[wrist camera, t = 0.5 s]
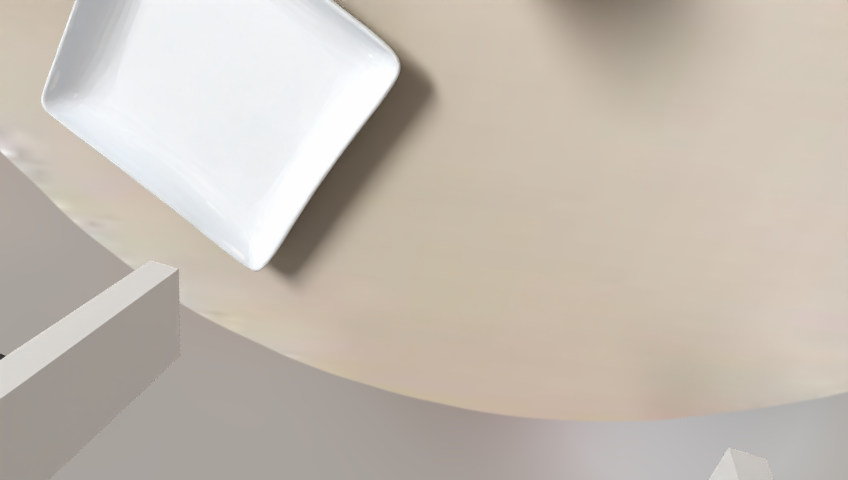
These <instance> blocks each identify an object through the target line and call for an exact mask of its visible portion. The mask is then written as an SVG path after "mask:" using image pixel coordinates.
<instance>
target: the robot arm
mask: <svg viewBox="0 0 848 480" xmlns="http://www.w3.org/2000/svg"><path fill="white" fill-rule="evenodd" d="M179 312H180V311H179V269H177V268H174V267H171V266H168V265H165V264H162V263H159V262H156V261H153V260H150V261H149V262H147V263H146V264H144V265H143V266H141V267H140V268H138V269H137V270H135V271H134V272H132V273H131V274H129V275H128V276H126V277H125V278H123V279H122V280H120V281H119V282H117V283H116V284H114V285H113V286H111V287H110V288H108V289H107V290H105V291H104V292H102V293H101V294H99V295H98V296H96V297H94V298H93V299H92V300H90V301H88V302H87V303H85V304H84V305H82V306H81V307H79V308H78V309H76V310H75V311H73V312H72V313H70V314H69V315H67V316H66V317H64V318H63V319H61V320H60V321H58V322H57V323H55V324H54V325H52V326H51V327H49V328H48V329H46V330H45V331H43V332H42V333H40V334H39V335H37V336H36V337H34V338H33V339H31V340H30V341H28V342H27V343H25V344H24V345H22V346H21V347H19V348H18V349H16V350H15V351H13V352H12V353H10V354H9V355H7V356H4V355H2V354H0V480H49V479H50V478H51V477H52V476H54V475H55V474H56V473H57V472H58V471H59V470H60V469H61V468H62V467H63V466H64V465H65V464H66V463H67V462H68V461H69V460H70V459H71V458H73V457H74V456H75V455H76V454H77V453H78V452H79V451H80V450H81V449H82V448H83V447H84V446H85V445H86V444H87V443H88V442H90V441H91V440H92V439H93V438H94V437H95V436H96V435H97V434H98V433H99V432H100V431H101V430H102V429H103V428H104V427H105V426H107V424H109V423H110V422H111V421H112V420H113V419H114V418H115V417H116V416H117V415H118V414H119V413H120V412H121V411H122V410H123V409H124V408H126V406H127V405H129V404H130V403H131V402H132V401H133V400H134V399H135V398H136V397H137V396H138V395H139V394H140V393H141V392H142V391H144V390H145V389H146V388H147V387H148V386H149V385H150V384H151V383H152V382H153V381H154V380H155V379H156V378H157V377H158V376H159V375H160V374H161V373H163V372H164V371H165V370H166V369H167V368H168V367H169V366H170V365H171V364H172V363H173V362H174V361H175V360H176V359H177V358H178V357H179V356H180V313H179ZM709 480H774V478H773V476H772V473H771V470H770V467H769V465H768V462H767V459H764V458H761V457H758V456H755V455H752V454H749V453H746V452H743V451H740V450H737V449H734V448H730V447H729V448H728V450H727V451H726V453H725V454H724V456H723V457H722V459H721V461H720V462H719V464H718V466H717V467H716V469H715V470H714V472H713V473H712V475H711V477H710V478H709Z"/></svg>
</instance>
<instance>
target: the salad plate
mask: <svg viewBox="0 0 848 480" xmlns="http://www.w3.org/2000/svg"><path fill="white" fill-rule="evenodd" d="M400 70H401V65H400V60H399V58H398V56H397V55H396V53H395V52H394V51H393V50H392V48H390V47H389V46H388V45H387V44H386V43H385V42H384V41H383V40H382V39H381V38H380V37H378V36H377V35H376V34H375V33H374V32H372V31H371V30H370V29H369V28H367V27H366V26H365V25H364V24H363V23H361V22H360V21H359V20H357V19H356V18H355V17H353V16H352V15H351V14H349V13H348V12H347V11H346V10H344V9H343V8H342V7H341V6H339V5H338V4H337V3H335V2H334V1H333V0H75V2H74V5H73V8H72V11H71V13H70V16H69V19H68V22H67V25H66V27H65V30H64V33H63V36H62V39H61V41H60V44H59V47H58V49H57V52H56V56H55V58H54V61H53V64H52V66H51V69H50V72H49V75H48V78H47V80H46V83H45V87H44V90H43V93H42V98H41V104H42V106H43V108H44V110H45V111H46V112H47V113H48V114H50V115H51V116H52V117H53V118H54V119H56V120H57V121H58V122H60V123H61V124H62V125H63V126H65V127H66V128H67V129H69V130H70V131H71V132H72V133H74V134H75V135H76V136H78V137H79V138H80V139H82V140H83V141H84V142H86V143H87V144H88V145H90V146H91V147H92V148H94V149H95V150H96V151H98V152H99V153H100V154H102V155H103V156H104V157H105V158H107V159H108V160H109V161H111V162H112V163H113V164H114V165H116V166H117V167H118V168H120V169H121V170H123V171H124V172H125V173H126V174H128V175H129V176H130V177H132V178H133V179H134V180H136V181H137V182H138V183H139V184H141V185H142V186H143V187H145V188H146V189H147V190H149V191H150V192H151V193H153V194H154V195H155V196H156V197H158V198H159V199H160V200H162V201H163V202H164V203H165V204H167V205H168V206H169V207H170V208H172V209H173V210H174V211H176V212H177V213H178V214H179V215H181V216H182V217H183V218H184V219H186V220H187V221H188V222H190V223H191V224H192V225H193V226H195V227H196V228H197V229H198V230H199V231H201V232H202V233H203V234H204V235H205V236H207V237H208V238H209V239H210V240H212V241H213V242H214V243H216V244H217V245H218V246H219V247H221V248H222V249H223V250H224V251H226V252H227V253H228V254H229V255H231V256H232V257H233V258H235V259H236V260H237V261H239V262H240V263H241V264H243V265H244V266H246V267H247V268H249V269H250V270H253V271H260V270H261V269H263V268H264V267H265V266H266V265H267V264H268V263H269V262H270V260H271V259H272V258H273V256H274V255H275V254H276V252H277V251H278V249H279V248H280V246H281V245H282V243H283V241H284V240H285V238H286V237H287V235H288V233H289V232H290V230H291V228H292V227H293V225H294V224H295V222H296V221H297V219H298V217H299V216H300V214H301V213H302V211H303V210H304V208H305V207H306V205H307V204H308V202H309V201H310V199H311V197H312V196H313V194H314V193H315V191H316V190H317V188H318V187H319V185H320V184H321V183H322V181H323V180H324V178H325V177H326V176H327V174H328V173H329V171H330V170H331V169H332V167H333V166H334V164H335V163H336V162H337V160H338V159H339V158H340V156H341V155H342V153H343V152H344V151H345V149H346V148H347V147H348V145H349V144H350V143H351V142H352V140H353V139H354V138H355V136H356V135H357V134H358V132H359V131H360V130H361V129H362V127H363V126H364V125H365V123H366V122H367V121H368V119H369V118H370V117H371V116H372V114H373V113H374V112H375V110H376V109H377V108H378V107H379V105H380V104H381V102H382V101H383V100H384V98H385V97H386V96H387V94H388V93H389V91H390V90H391V88H392V87H393V85H394V84H395V82H396V80H397V78H398V76H399V73H400Z"/></svg>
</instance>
